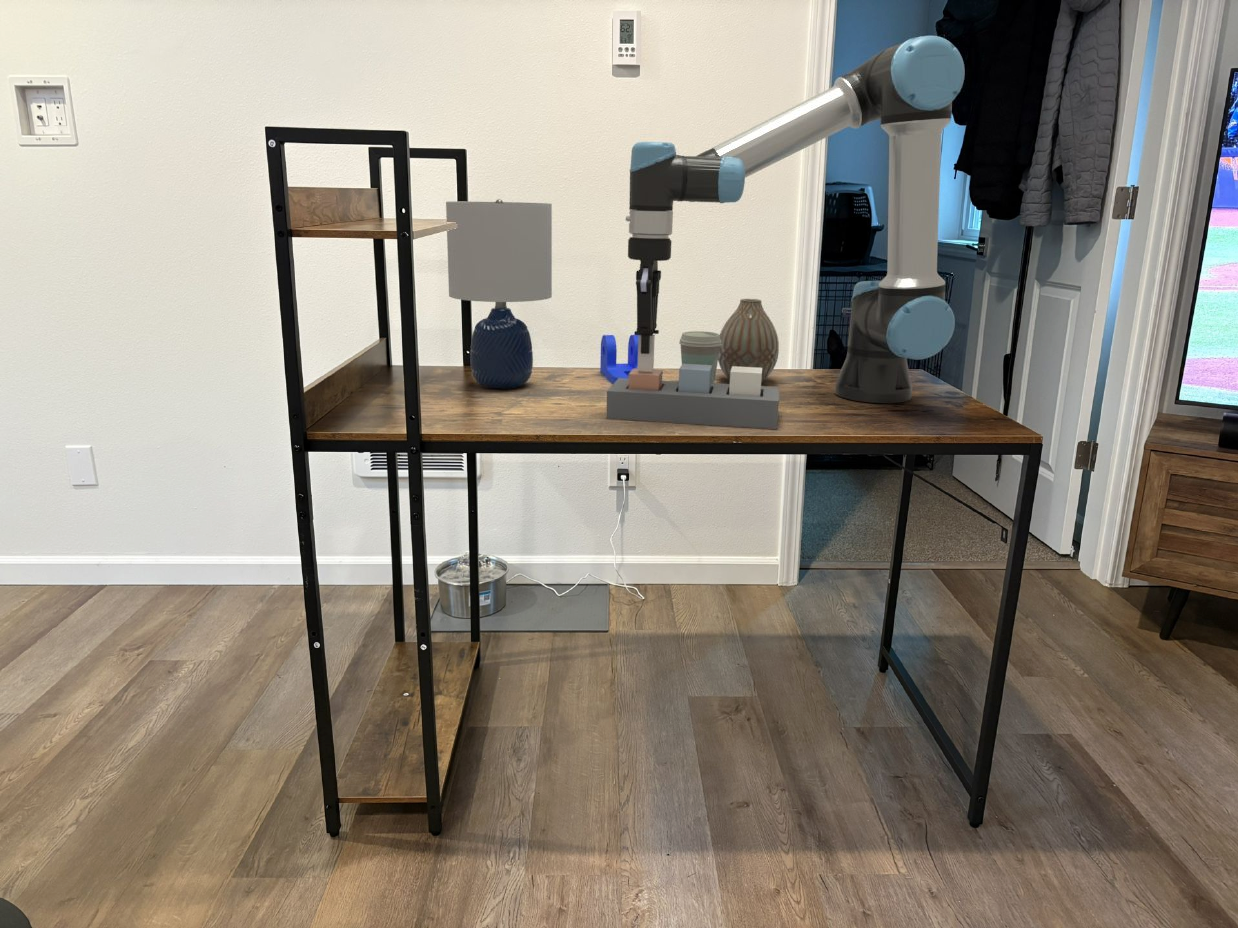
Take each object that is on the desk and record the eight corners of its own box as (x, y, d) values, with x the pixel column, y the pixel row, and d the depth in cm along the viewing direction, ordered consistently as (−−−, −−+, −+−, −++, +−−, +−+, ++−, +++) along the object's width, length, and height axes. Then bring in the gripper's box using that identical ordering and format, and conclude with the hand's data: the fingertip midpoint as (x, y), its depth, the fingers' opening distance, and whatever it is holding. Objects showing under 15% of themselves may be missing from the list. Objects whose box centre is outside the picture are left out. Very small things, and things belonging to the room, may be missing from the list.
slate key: (710, 389, 166) (712, 365, 164) (708, 395, 160) (709, 370, 159) (681, 387, 166) (682, 363, 165) (678, 393, 161) (679, 369, 160)
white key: (760, 391, 164) (762, 367, 163) (759, 398, 159) (761, 373, 158) (730, 390, 165) (732, 366, 164) (728, 396, 160) (730, 371, 159)
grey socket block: (777, 413, 168) (779, 387, 167) (776, 429, 157) (778, 401, 155) (618, 403, 173) (618, 378, 171) (606, 418, 162) (606, 391, 160)
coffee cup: (717, 398, 179) (720, 338, 176) (674, 396, 181) (676, 336, 177) (721, 390, 187) (724, 332, 184) (680, 387, 189) (682, 329, 185)
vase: (774, 376, 202) (780, 297, 197) (778, 388, 190) (784, 304, 185) (715, 374, 203) (719, 295, 198) (715, 386, 191) (719, 302, 186)
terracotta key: (661, 393, 167) (662, 370, 166) (657, 399, 162) (658, 375, 161) (632, 392, 168) (633, 368, 167) (628, 398, 163) (628, 374, 162)
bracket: (600, 373, 203) (601, 332, 200) (636, 372, 204) (637, 332, 202) (617, 390, 186) (618, 346, 183) (656, 389, 188) (658, 345, 185)
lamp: (503, 401, 173) (500, 200, 162) (431, 386, 184) (423, 197, 174) (571, 385, 188) (572, 201, 178) (501, 372, 200) (498, 198, 189)
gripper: (634, 234, 164) (630, 363, 171) (622, 237, 152) (618, 376, 158) (675, 235, 163) (670, 365, 170) (666, 239, 150) (661, 378, 157)
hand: (645, 370), depth 164 cm, fingers closed
